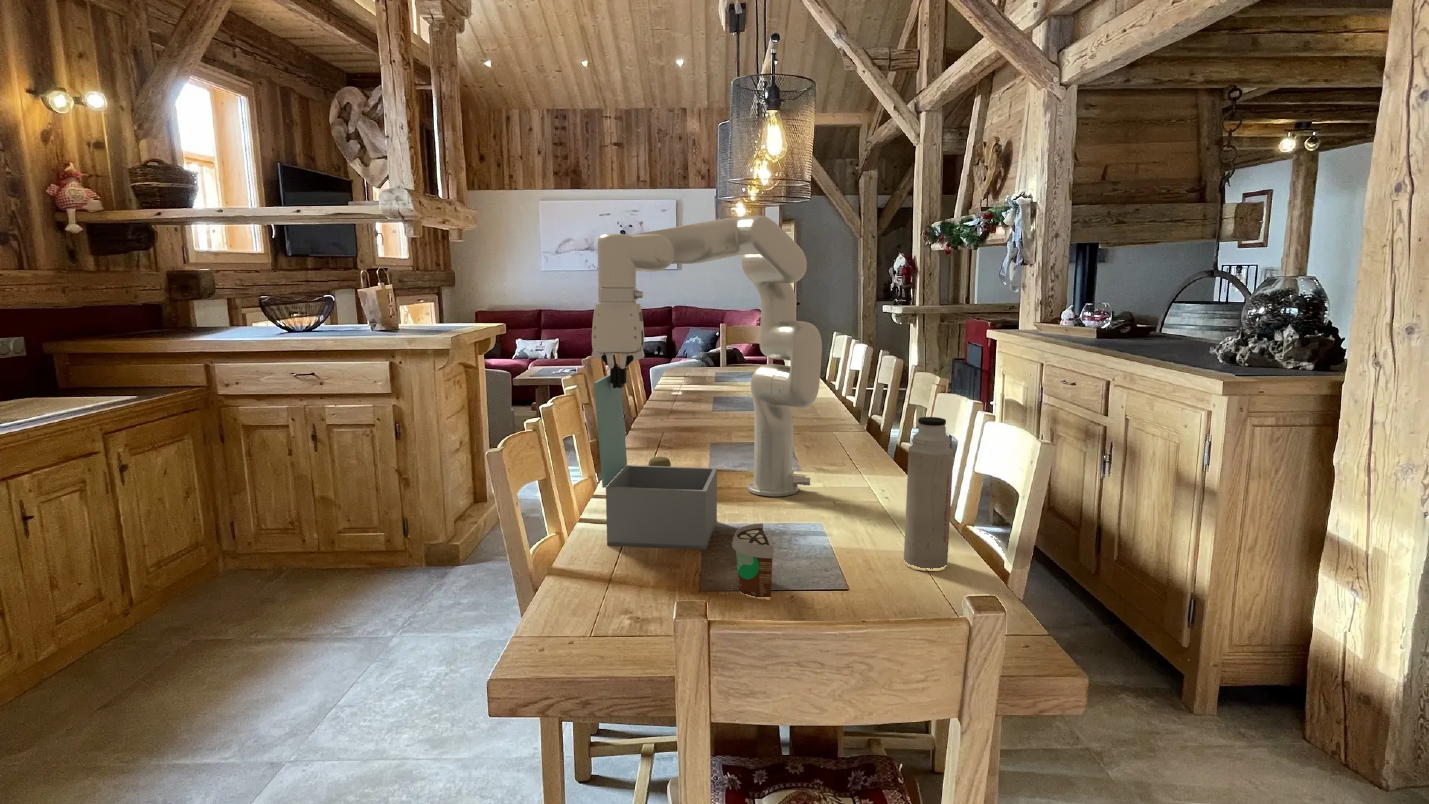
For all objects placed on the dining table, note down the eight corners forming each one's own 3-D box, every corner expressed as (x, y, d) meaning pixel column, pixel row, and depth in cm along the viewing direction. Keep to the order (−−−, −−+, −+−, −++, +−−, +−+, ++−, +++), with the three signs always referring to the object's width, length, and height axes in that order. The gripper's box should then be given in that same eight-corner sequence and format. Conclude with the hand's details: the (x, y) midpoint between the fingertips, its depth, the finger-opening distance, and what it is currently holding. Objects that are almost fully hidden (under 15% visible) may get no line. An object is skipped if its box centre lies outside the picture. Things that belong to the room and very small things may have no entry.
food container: (728, 576, 143) (728, 523, 141) (761, 575, 143) (762, 522, 141) (735, 605, 131) (736, 547, 129) (772, 603, 131) (773, 546, 129)
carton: (716, 521, 173) (716, 468, 171) (705, 550, 156) (706, 491, 154) (627, 517, 176) (626, 465, 174) (607, 545, 158) (605, 487, 156)
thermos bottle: (952, 561, 150) (960, 417, 145) (940, 575, 143) (948, 424, 139) (911, 553, 154) (917, 412, 149) (897, 566, 147) (904, 419, 143)
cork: (669, 507, 183) (668, 461, 181) (644, 505, 184) (643, 459, 183) (675, 499, 189) (675, 455, 187) (651, 498, 190) (650, 453, 188)
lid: (620, 370, 170) (617, 370, 171) (597, 382, 152) (594, 382, 152) (627, 464, 174) (624, 464, 174) (605, 487, 156) (602, 487, 156)
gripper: (657, 296, 161) (657, 385, 164) (586, 295, 163) (587, 383, 166) (650, 297, 154) (650, 390, 157) (575, 297, 155) (577, 389, 159)
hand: (618, 387), depth 161 cm, fingers closed
